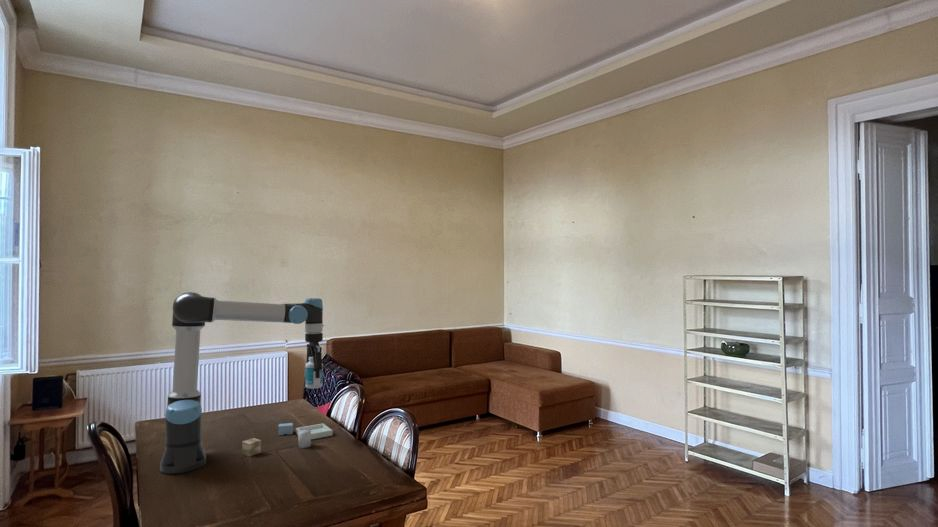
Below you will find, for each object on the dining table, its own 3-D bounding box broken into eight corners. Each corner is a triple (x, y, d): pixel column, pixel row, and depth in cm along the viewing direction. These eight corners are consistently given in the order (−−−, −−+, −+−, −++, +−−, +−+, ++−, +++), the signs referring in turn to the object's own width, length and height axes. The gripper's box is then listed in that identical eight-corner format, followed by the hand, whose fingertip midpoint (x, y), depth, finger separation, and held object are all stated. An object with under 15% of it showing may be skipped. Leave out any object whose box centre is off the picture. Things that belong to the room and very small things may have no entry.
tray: (304, 440, 219) (304, 435, 219) (295, 433, 229) (295, 428, 229) (332, 435, 226) (332, 430, 226) (323, 428, 236) (323, 423, 236)
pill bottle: (319, 389, 224) (319, 358, 224) (303, 389, 224) (303, 358, 224) (324, 385, 232) (324, 355, 232) (308, 385, 232) (308, 355, 232)
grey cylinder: (300, 448, 209) (300, 434, 209) (296, 445, 213) (296, 431, 213) (312, 446, 212) (312, 432, 212) (308, 443, 216) (308, 429, 216)
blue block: (278, 435, 227) (278, 426, 227) (278, 432, 230) (278, 424, 230) (292, 434, 228) (292, 425, 228) (292, 431, 232) (292, 422, 232)
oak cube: (249, 456, 201) (249, 443, 201) (242, 453, 204) (242, 441, 204) (260, 452, 205) (260, 440, 205) (253, 450, 208) (253, 438, 208)
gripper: (329, 334, 222) (329, 386, 222) (315, 330, 239) (315, 378, 238) (312, 335, 218) (312, 389, 217) (299, 331, 235) (299, 380, 234)
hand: (314, 383), depth 228 cm, fingers closed on pill bottle, 7 cm apart
